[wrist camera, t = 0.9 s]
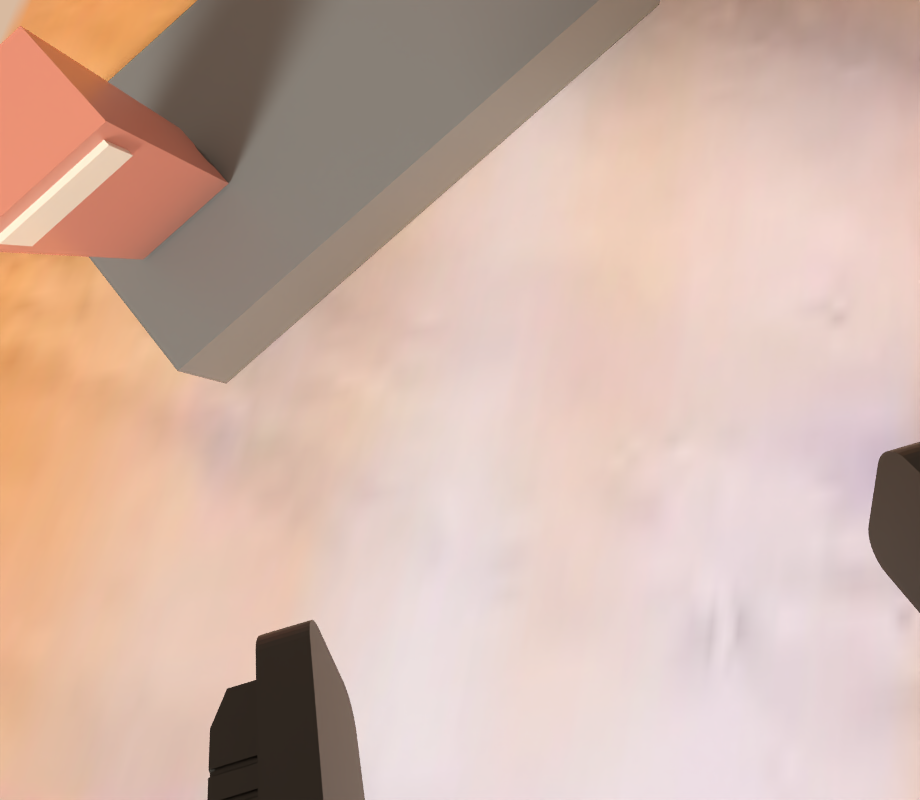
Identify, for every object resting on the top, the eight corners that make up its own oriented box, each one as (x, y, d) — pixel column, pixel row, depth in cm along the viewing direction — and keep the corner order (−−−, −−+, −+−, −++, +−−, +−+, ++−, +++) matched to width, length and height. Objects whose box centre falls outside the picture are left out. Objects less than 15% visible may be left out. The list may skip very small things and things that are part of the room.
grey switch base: (484, -172, 33) (471, -259, 29) (659, 4, 32) (670, -63, 28) (77, 194, 34) (12, 158, 30) (225, 383, 33) (177, 370, 29)
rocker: (183, 130, 29) (20, 25, 17) (234, 188, 29) (110, 126, 17) (98, 206, 29) (-125, 158, 17) (150, 262, 30) (-32, 255, 17)
